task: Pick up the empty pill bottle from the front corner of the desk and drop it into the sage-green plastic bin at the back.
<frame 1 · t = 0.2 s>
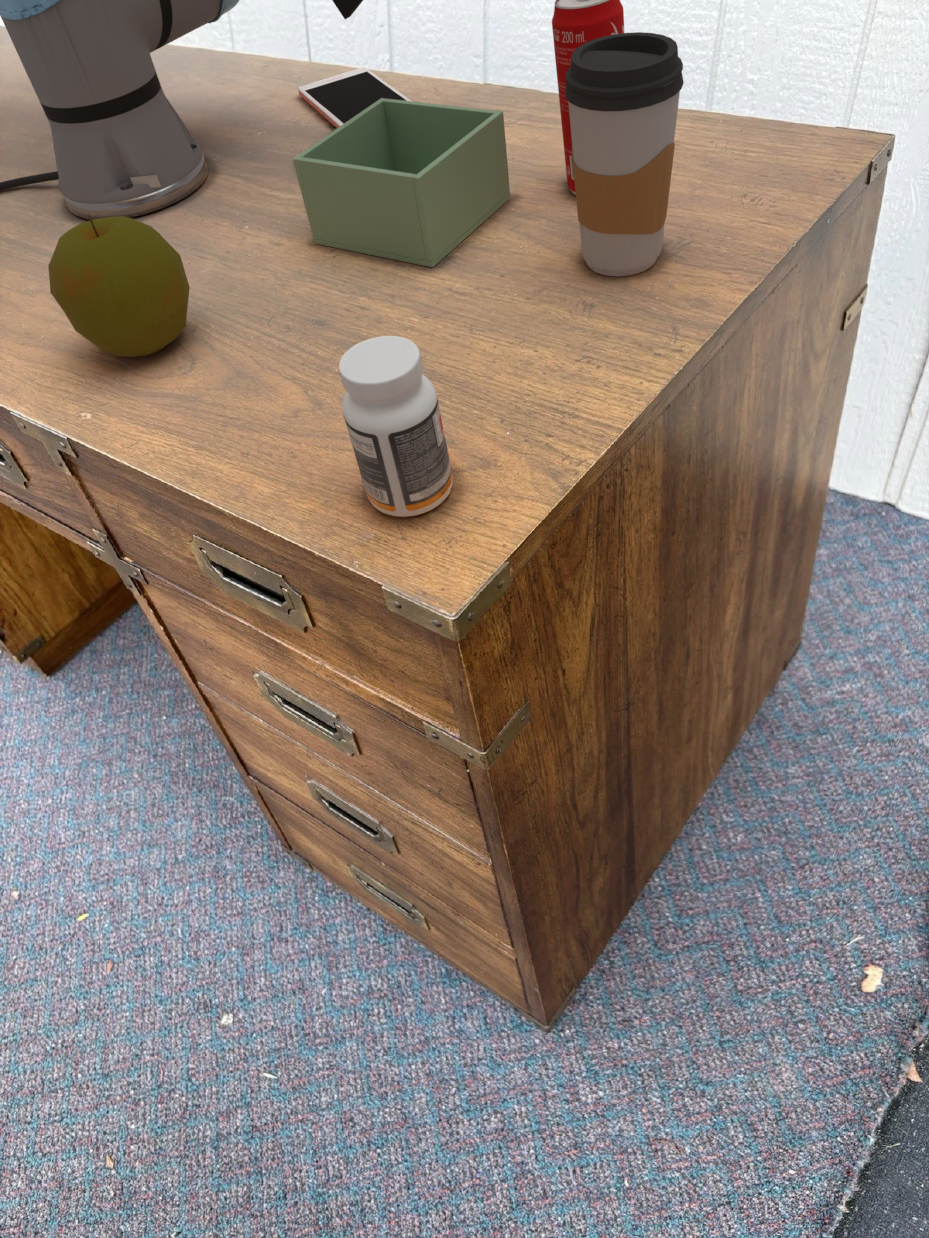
pill bottle: (410, 493, 57), on the table
bin: (413, 220, 81), on the table
beverage can: (594, 188, 81), on the table
coffee cup: (621, 260, 72), on the table
apple: (148, 345, 73), on the table
cell phone: (359, 108, 101), on the table
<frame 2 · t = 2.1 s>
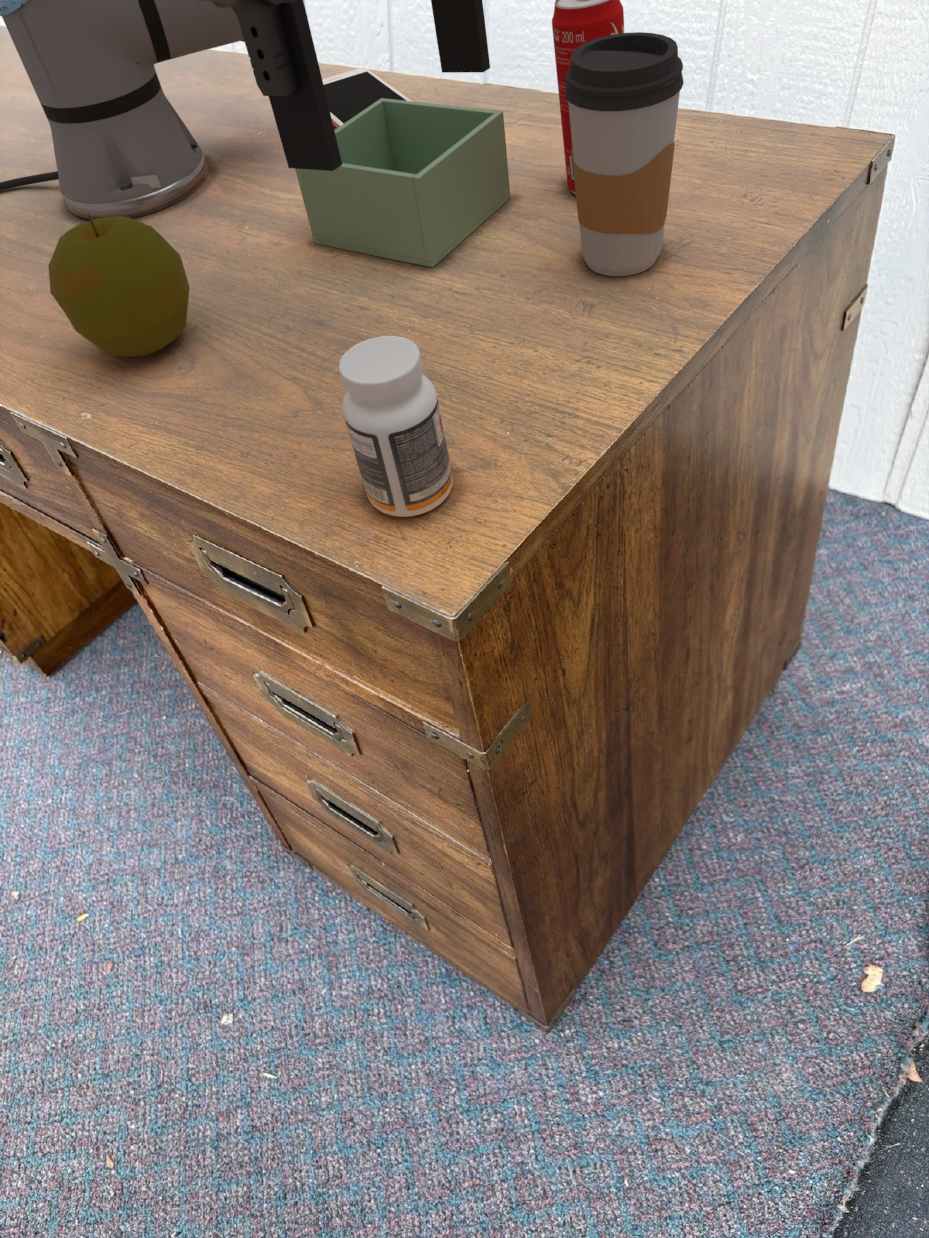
hand: (396, 115, 45), 20 cm above the table, tool pointing down, fingers open, 13 cm apart
nothing on the table moved.
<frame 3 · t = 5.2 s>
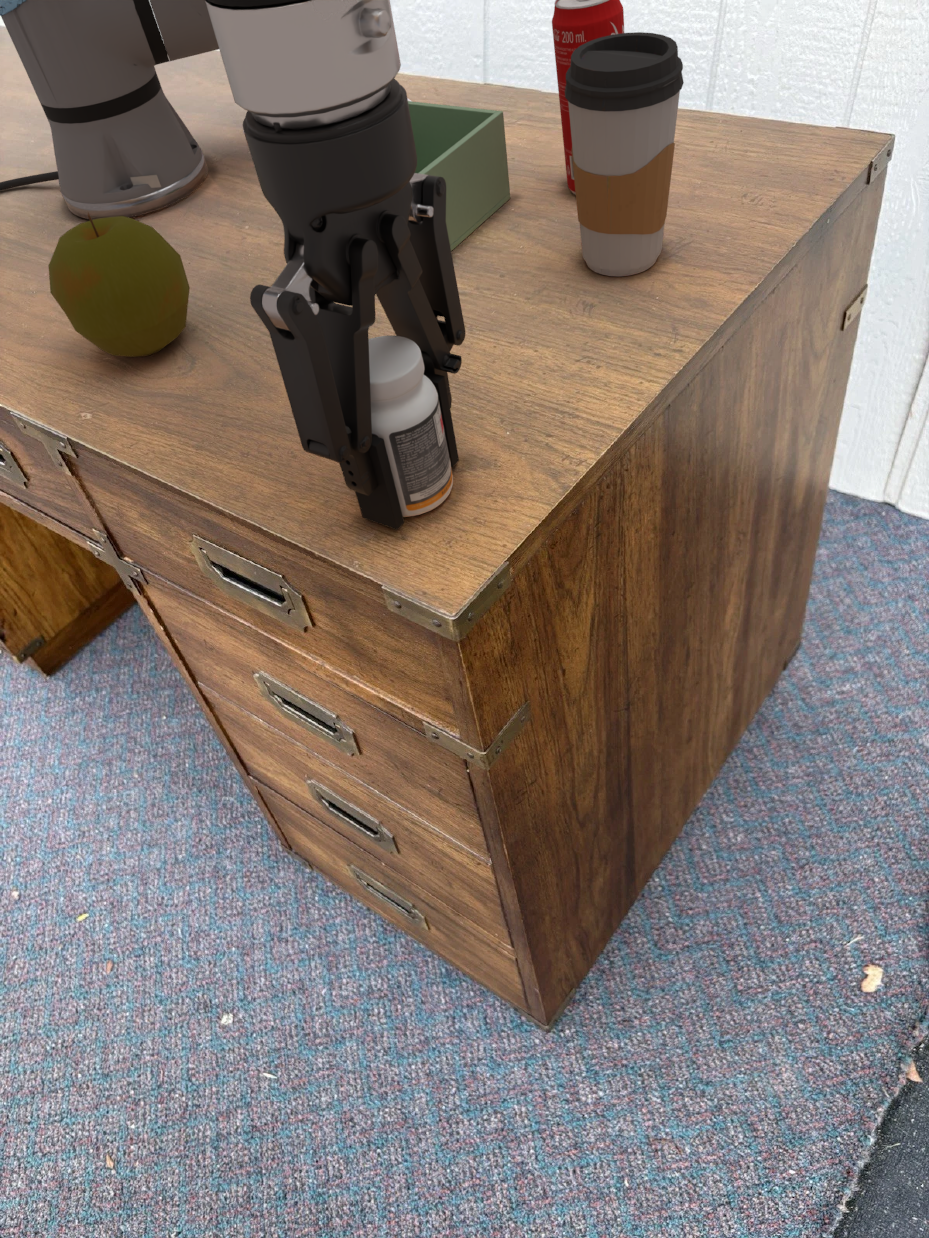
hand: (411, 488, 56), 0 cm above the table, tool pointing down, fingers closed on pill bottle, 6 cm apart
pill bottle: (411, 493, 57), on the table, touching gripper
everything else where it was.
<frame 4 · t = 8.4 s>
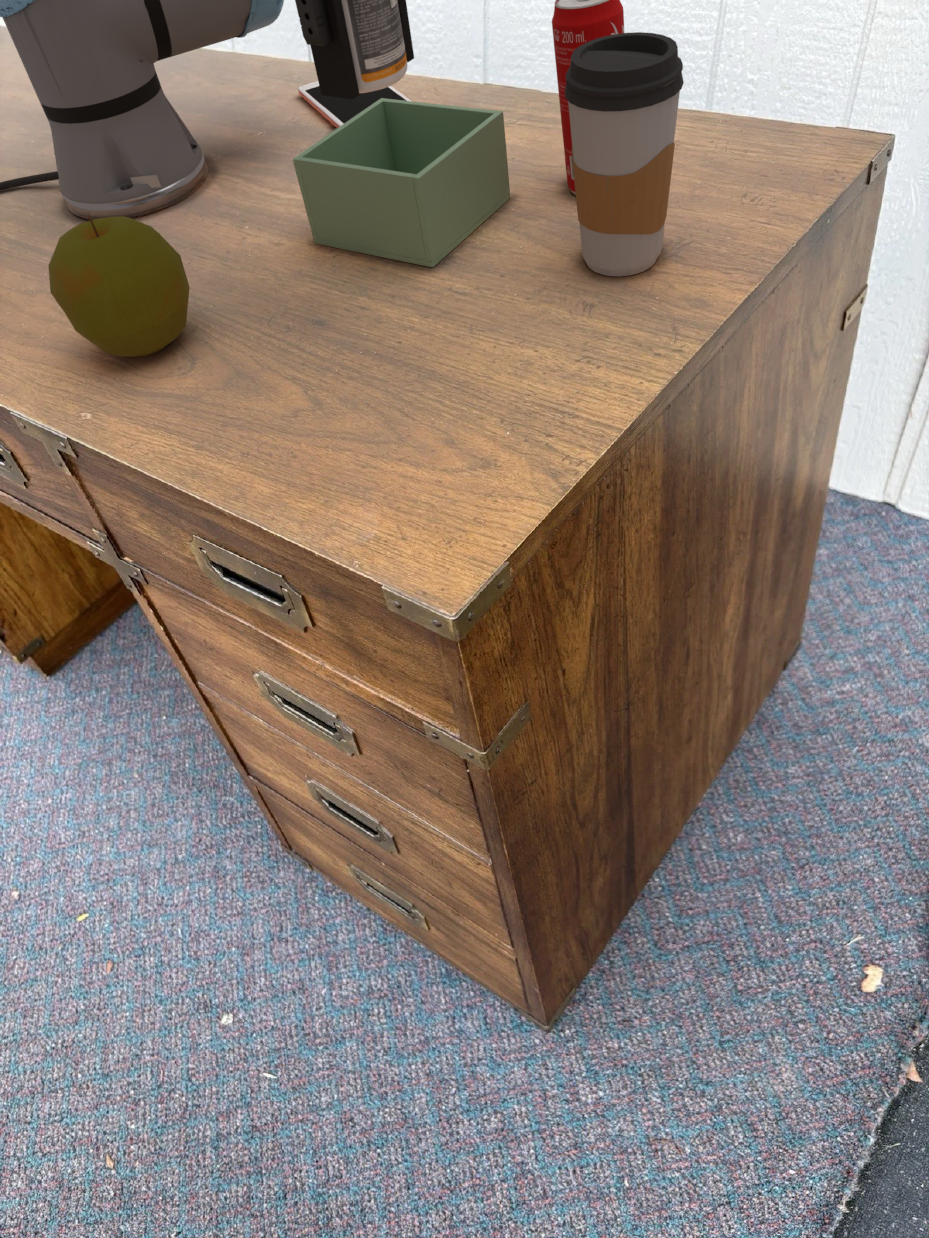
hand: (368, 76, 60), 16 cm above the table, tool pointing down, fingers closed on pill bottle, 6 cm apart
pill bottle: (368, 83, 60), point 16 cm above the table, touching gripper
everything else where it was.
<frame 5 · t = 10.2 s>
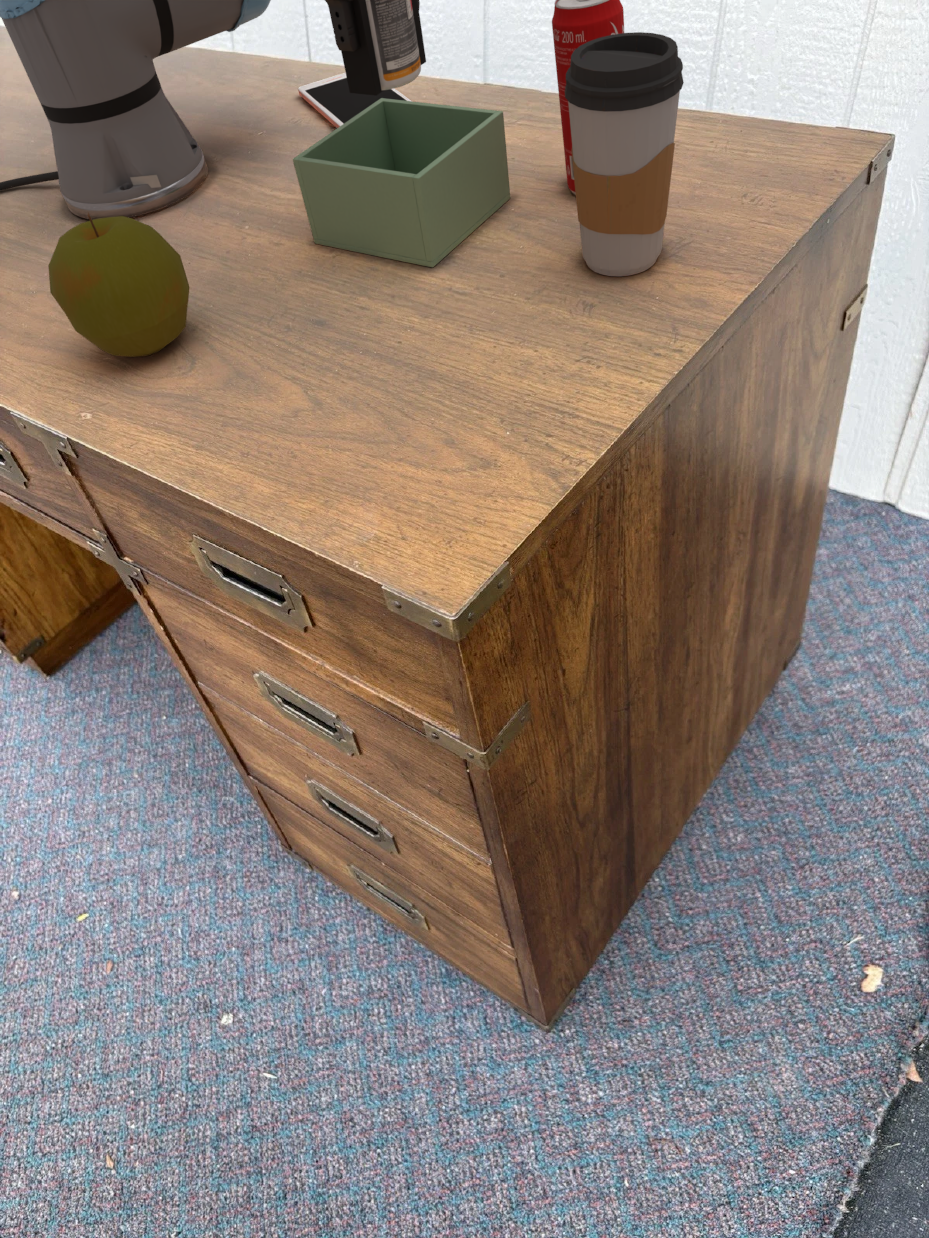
hand: (388, 76, 72), 12 cm above the table, tool pointing down, fingers closed on pill bottle, 6 cm apart
pill bottle: (388, 82, 72), point 12 cm above the table, touching gripper
everything else where it was.
when the fingers open (8 cm above the table, at t = 11.8 s): pill bottle drops 7 cm, point 1 cm above the table.
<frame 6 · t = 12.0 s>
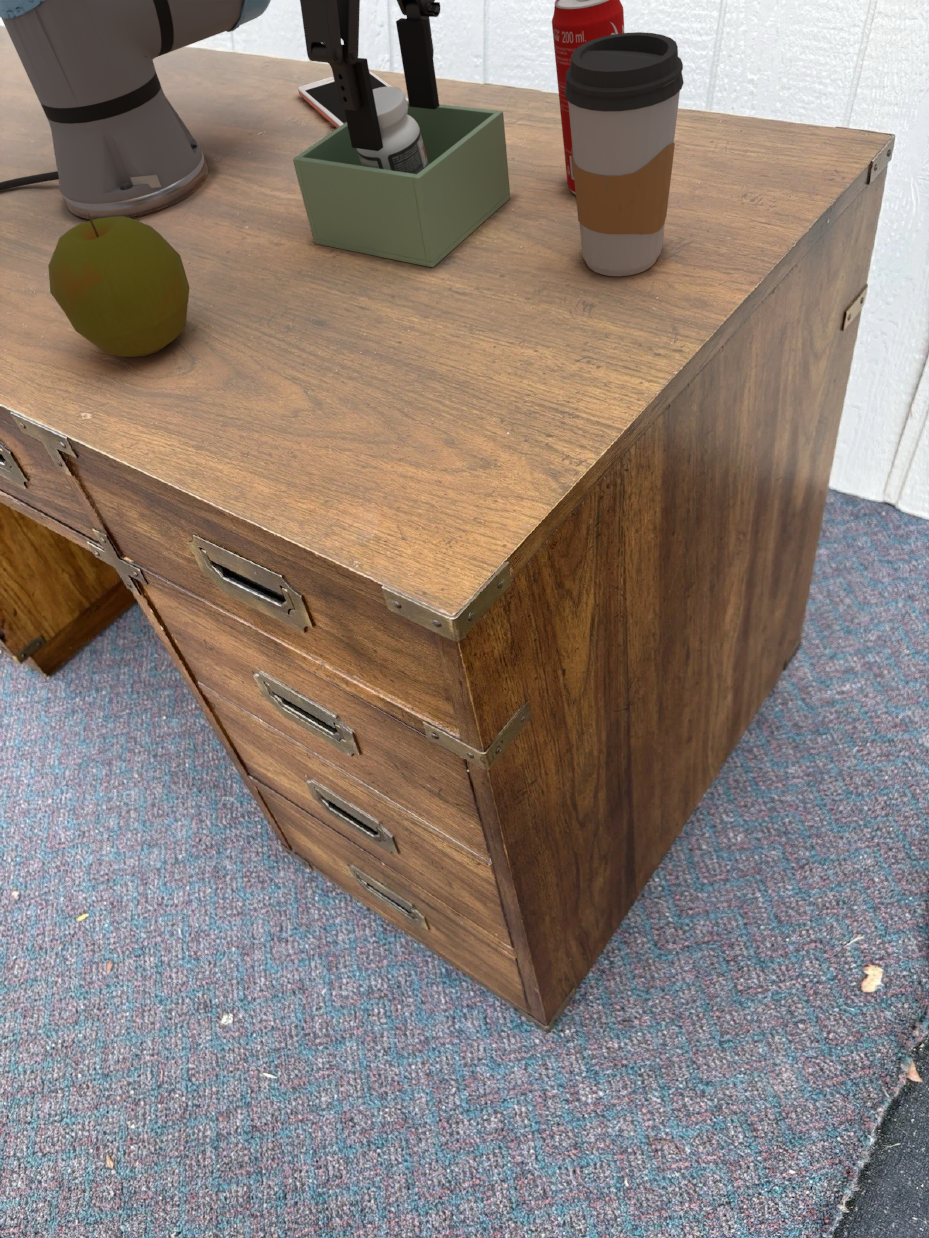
hand: (396, 126, 75), 8 cm above the table, tool pointing down, fingers open, 8 cm apart
pill bottle: (409, 214, 80), point 1 cm above the table, touching gripper
everything else where it was.
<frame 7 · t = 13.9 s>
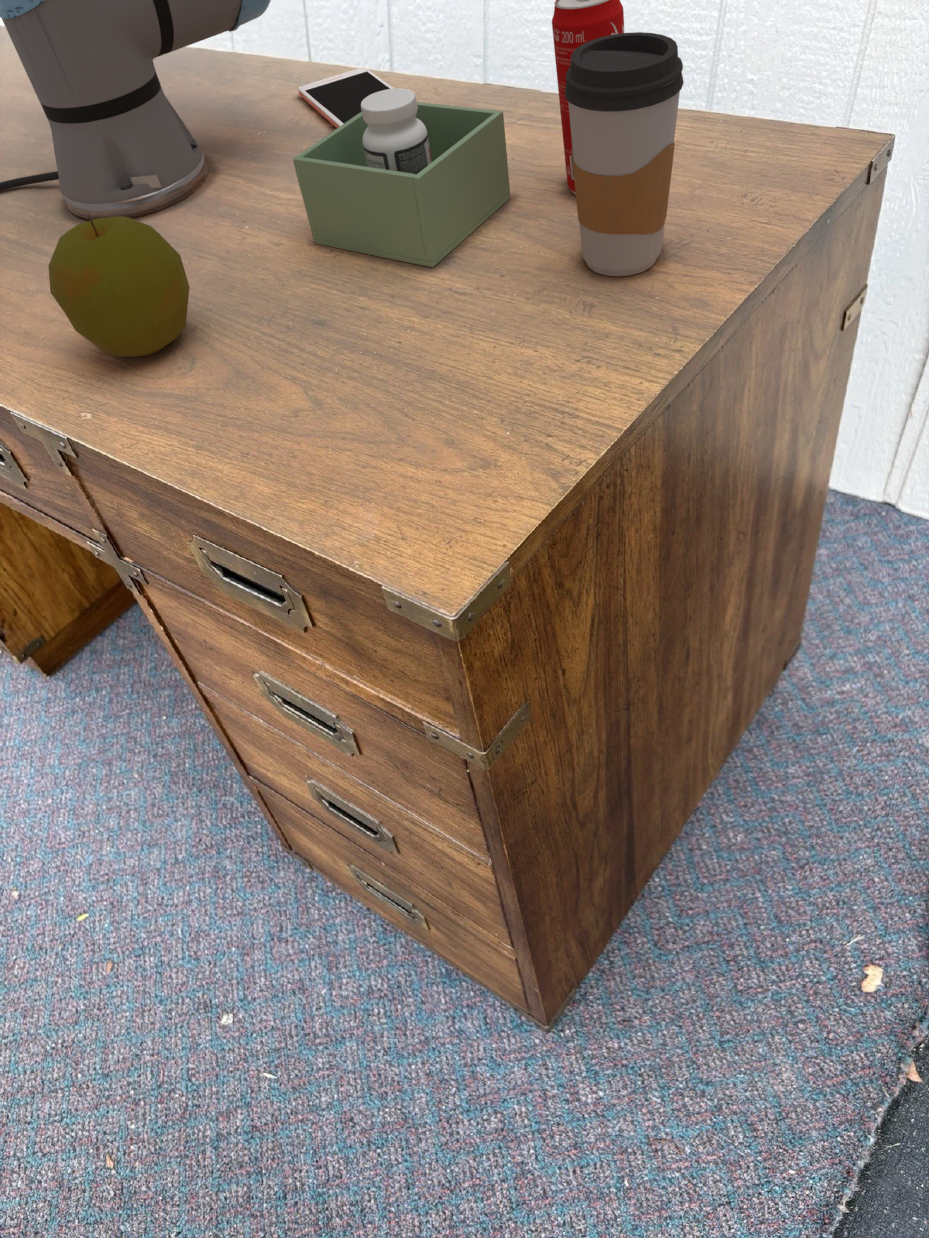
pill bottle: (409, 218, 81), resting on bin
everything else where it was.
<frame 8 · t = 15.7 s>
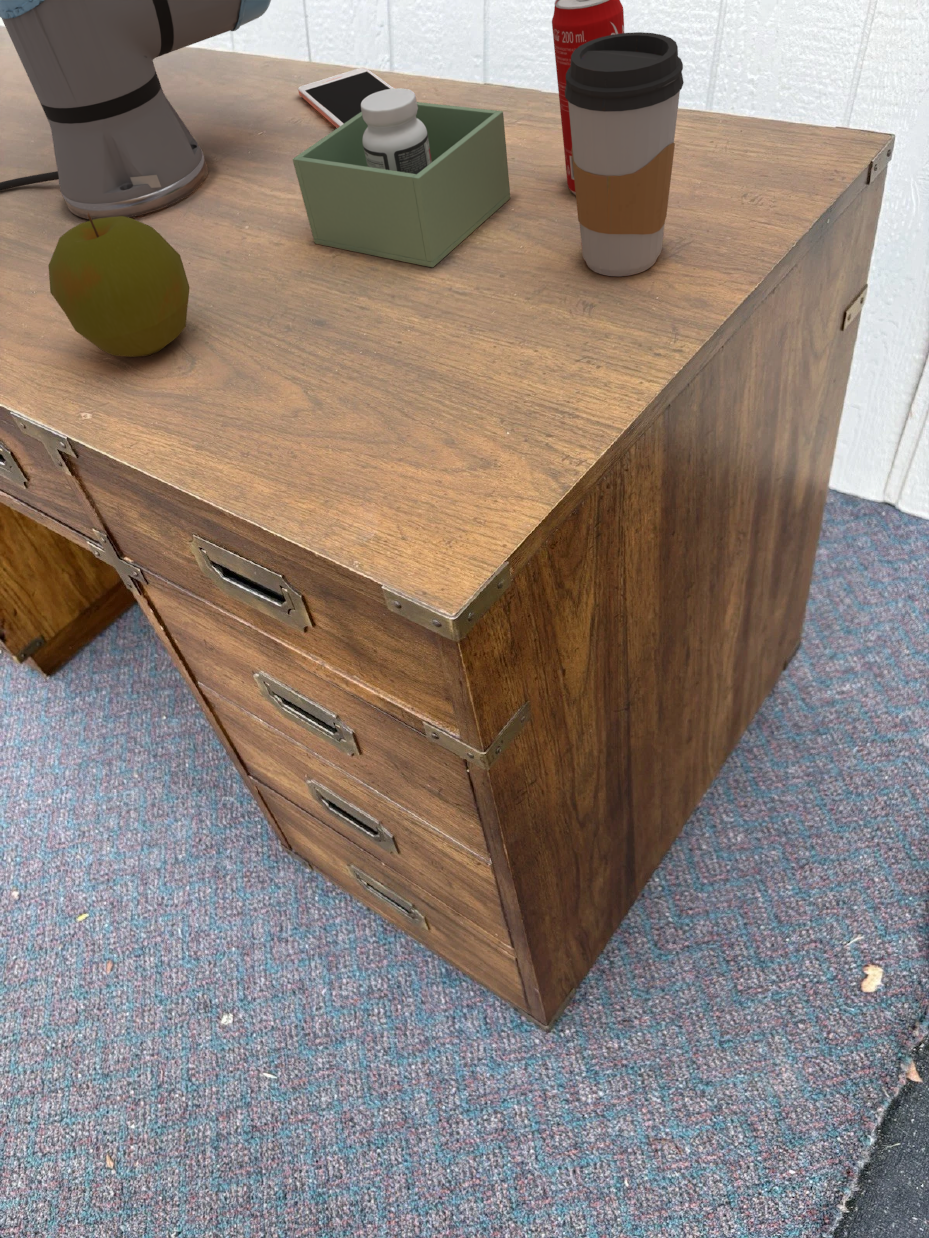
nothing on the table moved.
at the end: pill bottle inside the target area in the bin (0.4 cm from its centre), point 0.3 cm above the bin's base; the gripper is holding nothing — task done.
